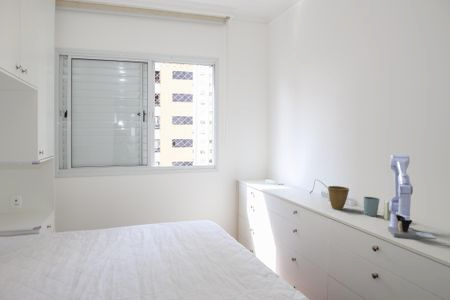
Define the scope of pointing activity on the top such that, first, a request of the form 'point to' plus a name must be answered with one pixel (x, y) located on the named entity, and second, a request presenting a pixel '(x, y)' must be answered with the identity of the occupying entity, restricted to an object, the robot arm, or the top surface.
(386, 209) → the skincare box
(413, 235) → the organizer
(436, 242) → the top surface
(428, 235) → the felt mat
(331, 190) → the plant pot
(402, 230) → the oak block
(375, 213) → the teal tapered pot
